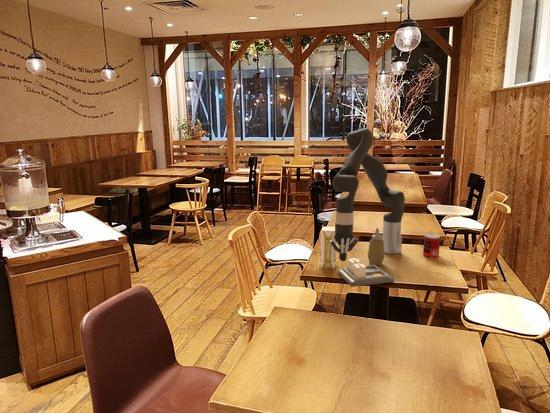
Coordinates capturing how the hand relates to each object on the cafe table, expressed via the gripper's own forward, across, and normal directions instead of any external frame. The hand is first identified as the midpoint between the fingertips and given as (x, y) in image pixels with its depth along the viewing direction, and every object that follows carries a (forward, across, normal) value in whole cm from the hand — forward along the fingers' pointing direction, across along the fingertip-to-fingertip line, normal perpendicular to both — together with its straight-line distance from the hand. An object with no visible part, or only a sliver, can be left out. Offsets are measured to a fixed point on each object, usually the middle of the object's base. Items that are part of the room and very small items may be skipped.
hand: (342, 260), depth 180 cm
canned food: (+10, -59, -22) cm, 63 cm away
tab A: (+8, -9, -7) cm, 14 cm away
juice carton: (+11, -2, -22) cm, 24 cm away
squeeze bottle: (+11, -26, -18) cm, 33 cm away
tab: (+8, -8, 0) cm, 12 cm away
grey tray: (+11, -13, -4) cm, 17 cm away
